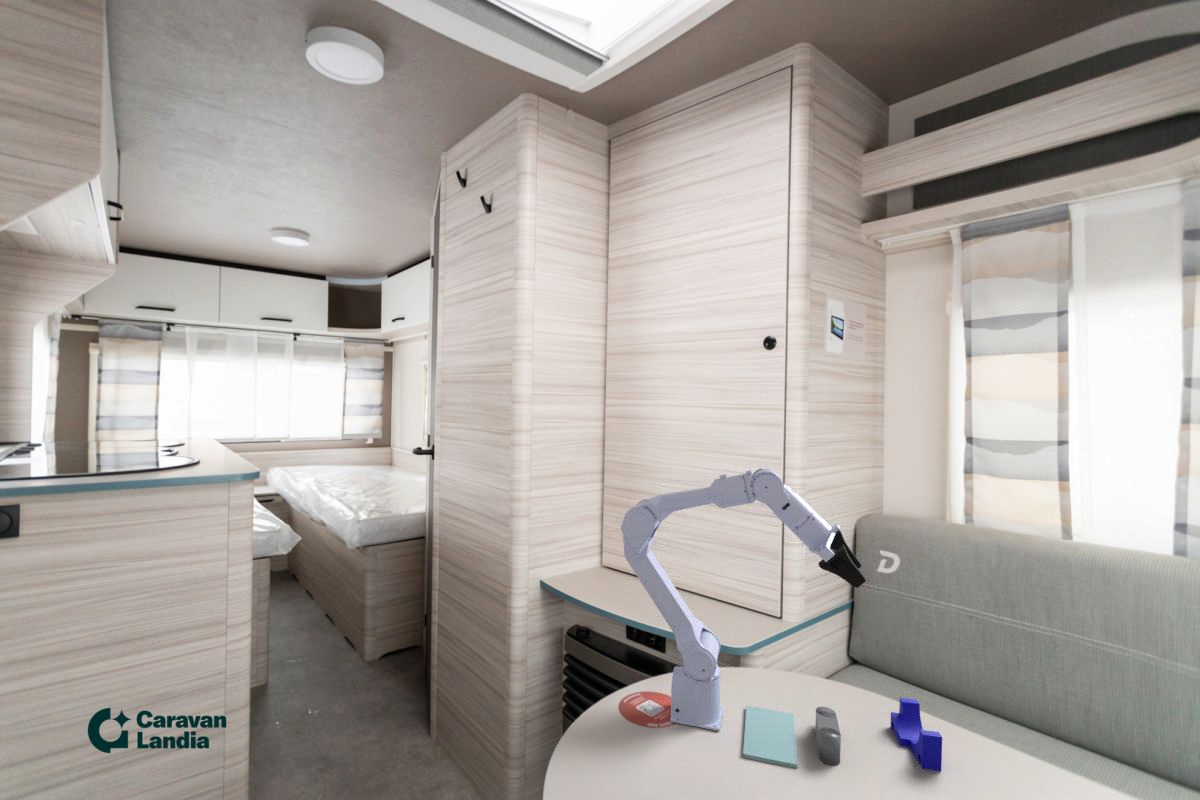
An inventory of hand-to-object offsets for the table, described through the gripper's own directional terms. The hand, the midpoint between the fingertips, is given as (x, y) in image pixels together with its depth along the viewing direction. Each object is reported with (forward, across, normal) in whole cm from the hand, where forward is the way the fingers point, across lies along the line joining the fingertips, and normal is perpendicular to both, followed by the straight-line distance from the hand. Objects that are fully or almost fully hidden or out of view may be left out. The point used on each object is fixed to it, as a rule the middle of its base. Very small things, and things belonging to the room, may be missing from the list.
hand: (859, 576), depth 101 cm
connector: (+18, -4, +26) cm, 32 cm away
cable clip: (+29, +2, +16) cm, 33 cm away
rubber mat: (+10, -4, +33) cm, 35 cm away
